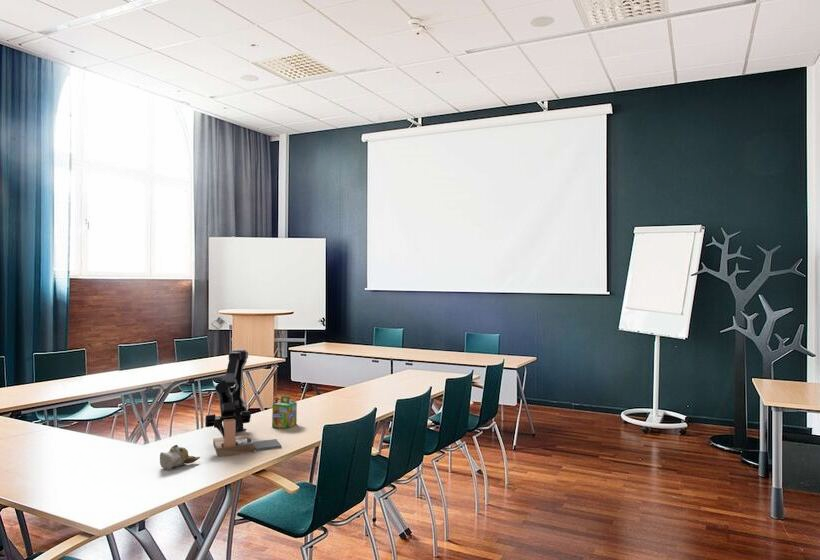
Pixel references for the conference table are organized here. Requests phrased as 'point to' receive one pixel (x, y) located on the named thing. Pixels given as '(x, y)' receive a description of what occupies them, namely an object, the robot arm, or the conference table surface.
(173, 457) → the ceramic sculpture
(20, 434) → the conference table surface
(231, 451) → the walnut puzzle board
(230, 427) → the terracotta block
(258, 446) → the rubber pad
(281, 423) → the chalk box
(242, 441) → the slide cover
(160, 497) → the conference table surface
